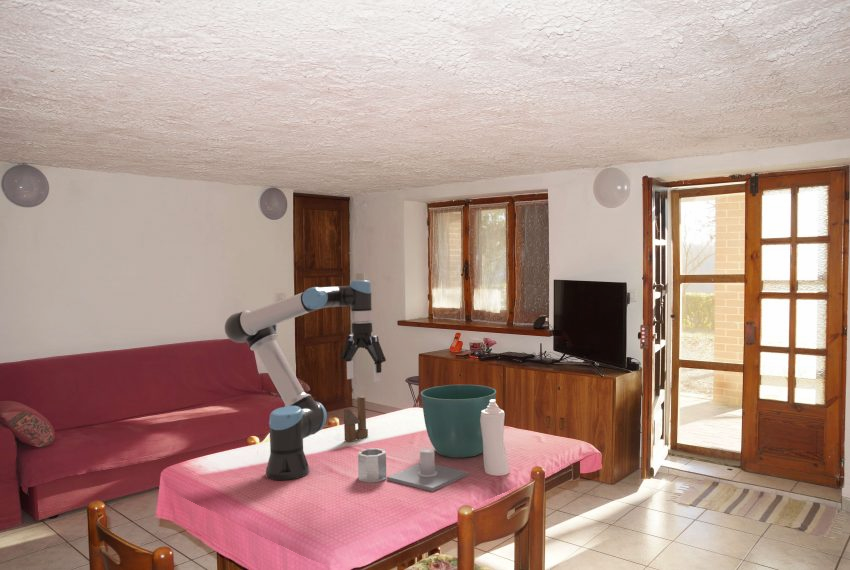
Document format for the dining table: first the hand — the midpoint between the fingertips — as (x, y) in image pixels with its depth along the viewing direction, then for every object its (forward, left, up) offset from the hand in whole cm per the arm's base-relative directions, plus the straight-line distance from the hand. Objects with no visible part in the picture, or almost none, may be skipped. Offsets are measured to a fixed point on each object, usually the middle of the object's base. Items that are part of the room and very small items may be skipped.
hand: (363, 380), depth 225 cm
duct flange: (+5, -25, -33) cm, 41 cm away
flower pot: (+37, -16, -33) cm, 52 cm away
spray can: (+25, -40, -33) cm, 57 cm away
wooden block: (+28, +33, -33) cm, 54 cm away
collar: (-6, -9, -33) cm, 34 cm away
